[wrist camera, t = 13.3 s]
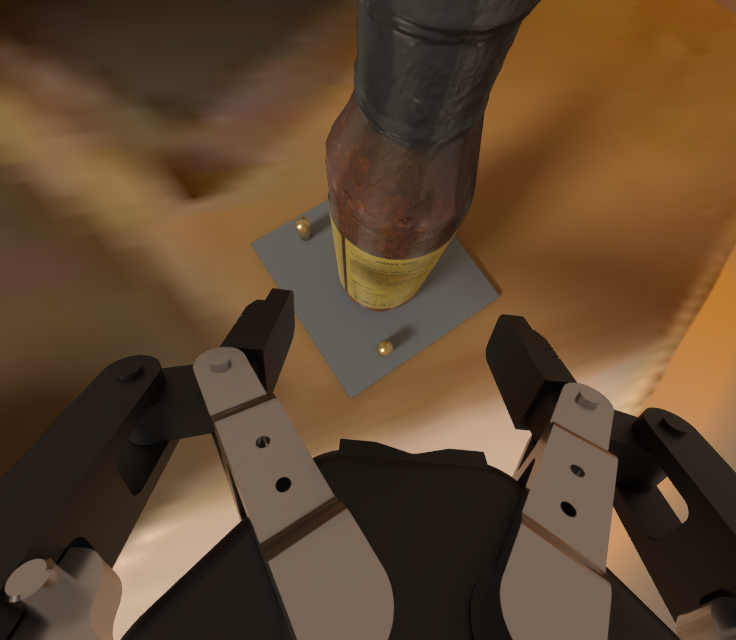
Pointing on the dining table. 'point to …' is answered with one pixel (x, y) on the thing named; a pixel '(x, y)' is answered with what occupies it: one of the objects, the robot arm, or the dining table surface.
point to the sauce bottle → (411, 137)
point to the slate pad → (361, 325)
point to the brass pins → (306, 235)
